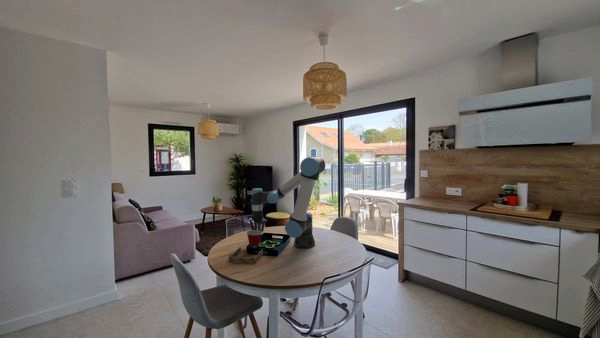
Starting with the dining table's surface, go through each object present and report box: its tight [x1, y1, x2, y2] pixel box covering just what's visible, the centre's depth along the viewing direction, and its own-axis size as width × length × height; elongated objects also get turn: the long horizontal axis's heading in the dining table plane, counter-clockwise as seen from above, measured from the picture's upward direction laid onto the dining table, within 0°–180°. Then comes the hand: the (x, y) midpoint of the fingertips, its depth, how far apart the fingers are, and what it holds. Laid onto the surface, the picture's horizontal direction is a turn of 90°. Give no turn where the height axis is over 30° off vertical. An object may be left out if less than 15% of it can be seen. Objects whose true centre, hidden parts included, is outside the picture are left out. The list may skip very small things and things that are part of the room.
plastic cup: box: [246, 229, 263, 247], centre depth 170 cm, size 11×11×12 cm
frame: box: [228, 246, 264, 264], centre depth 155 cm, size 17×16×3 cm
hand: (258, 242), depth 177 cm, fingers closed
